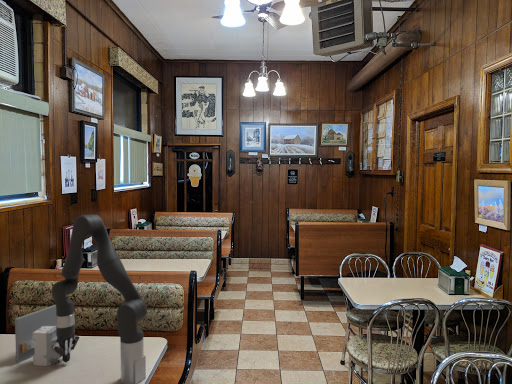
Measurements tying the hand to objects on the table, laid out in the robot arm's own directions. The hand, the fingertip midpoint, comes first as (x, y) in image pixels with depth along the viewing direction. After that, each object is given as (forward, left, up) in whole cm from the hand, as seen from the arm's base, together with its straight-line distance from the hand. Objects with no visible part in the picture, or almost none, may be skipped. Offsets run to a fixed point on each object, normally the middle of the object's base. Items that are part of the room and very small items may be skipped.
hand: (66, 361), depth 167 cm
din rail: (+20, -3, +3) cm, 21 cm away
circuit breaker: (+8, +1, -2) cm, 8 cm away
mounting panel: (+22, -3, -2) cm, 22 cm away
